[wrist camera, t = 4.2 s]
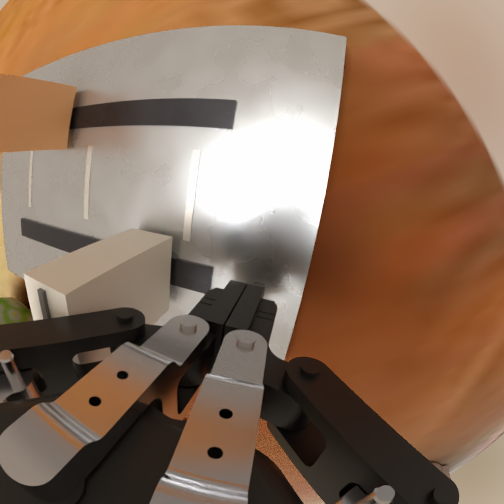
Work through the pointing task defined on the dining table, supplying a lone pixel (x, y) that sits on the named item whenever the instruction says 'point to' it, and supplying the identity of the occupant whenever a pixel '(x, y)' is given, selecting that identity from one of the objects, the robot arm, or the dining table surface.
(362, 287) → the dining table surface
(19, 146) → the orange fader
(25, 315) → the decorative ball
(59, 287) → the cream fader
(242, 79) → the fader panel
